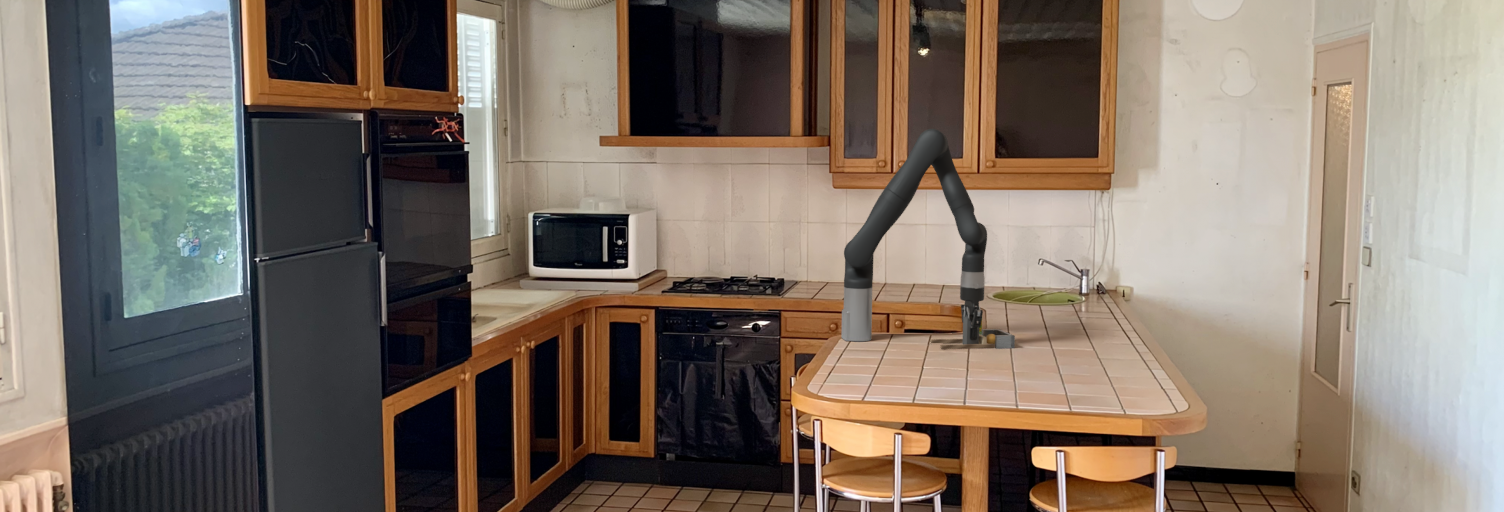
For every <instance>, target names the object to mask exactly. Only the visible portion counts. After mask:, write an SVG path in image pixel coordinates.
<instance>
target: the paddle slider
mask: <svg viewBox="0 0 1504 512" xmlns="http://www.w3.org/2000/svg"><path fill="white" fill-rule="evenodd" d="M968 319H969V318H968V316H966V317H964V316H963V323H962V339H963V342H962V343H961V344H988V343H987V337H985V336H983V335H980V334H979V327H978V328H977V340H970V321H969V320H968ZM972 322H973V321H972ZM975 323H976V322H975Z"/></svg>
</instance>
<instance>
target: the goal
mask: <svg viewBox="0 0 1504 512" xmlns="http://www.w3.org/2000/svg"><path fill="white" fill-rule="evenodd" d="M989 334H994V335H995V345H994V349H996V350H997V349H999V350H1000V349H1015V343H1016V335H1014V334H1012V333H1010V332H1007V331H1004V330H1002V329H1000V328H992V329H991V328H990V329H989V328H988V329H987V328H982V335H983V336H985V337H987V335H989Z"/></svg>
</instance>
